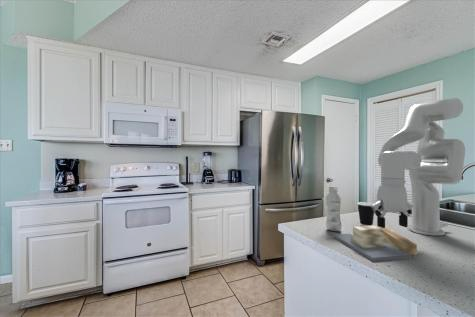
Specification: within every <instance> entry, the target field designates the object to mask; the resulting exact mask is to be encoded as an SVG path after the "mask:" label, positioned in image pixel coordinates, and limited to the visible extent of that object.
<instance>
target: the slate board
mask: <svg viewBox="0 0 475 317" xmlns="http://www.w3.org/2000/svg"><path fill="white" fill-rule="evenodd" d="M333 238H334V239H335V240H337V241H338V242H340V243H342V244H344V245H346V246H347V247H348V248H350V249H352V250H353V251H355V252H356V253H358V254H359V255H362V256H363V257H364V258H366V259H368V260H369V261H370V262H374V263H375V262H381V261H382V262H383V261H394V260H408V259H411V257H412V255H410V254H408V253H406V252H404V251H402V250H399V249H397V248H395V247H393V246H391V245H390V244H389V243H387V242H386V246H384V247H370V248H362V247H361V246H359V245H357V244H355V243H354V242H352V241H351V233H338V234H333Z"/></svg>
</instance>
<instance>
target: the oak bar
mask: <svg viewBox="0 0 475 317" xmlns="http://www.w3.org/2000/svg"><path fill="white" fill-rule="evenodd" d="M376 226H377V225H376ZM377 227H379V226H377ZM379 228H382V227H379ZM382 237H384V238H386V243H387V244H389V245H391V246H393V247H395V248H397V249H399V250H402V251H404V252H406V253H408V254H410V255H411V256H417V254H418V248H417V247H418V245H417V243H415V242H413V241H412V240H410V239H409V238H406V237H404V236H403V235H401V234H399V233H398V232H396V231H394V230H393V229H391V228H390V227H388V226H385V228H382Z"/></svg>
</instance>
